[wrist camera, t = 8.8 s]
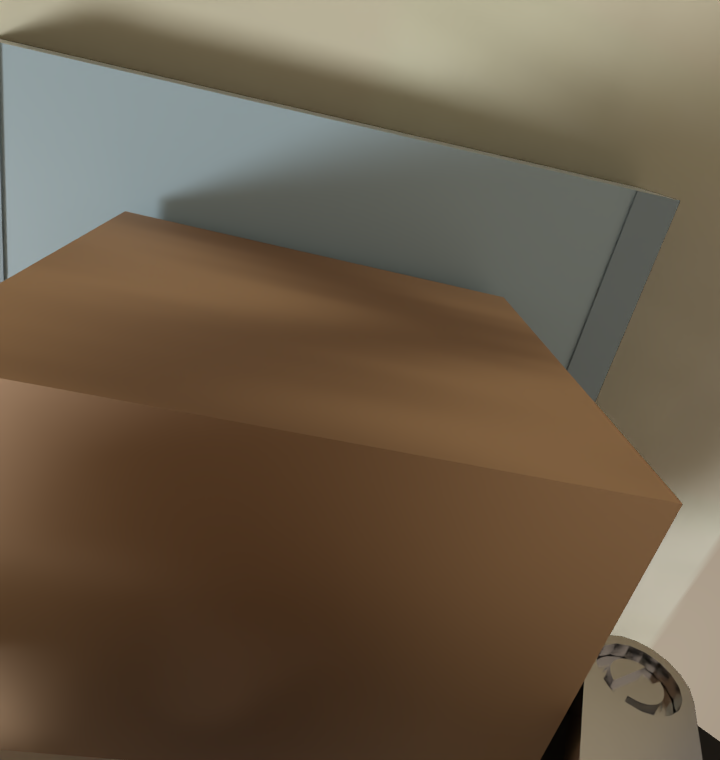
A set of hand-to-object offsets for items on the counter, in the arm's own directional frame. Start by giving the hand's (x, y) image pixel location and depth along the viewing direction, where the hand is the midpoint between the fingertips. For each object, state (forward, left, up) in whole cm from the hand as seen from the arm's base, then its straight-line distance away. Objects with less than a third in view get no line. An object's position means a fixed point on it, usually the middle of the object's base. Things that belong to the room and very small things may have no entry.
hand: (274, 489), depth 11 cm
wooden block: (0, 0, -1) cm, 1 cm away
